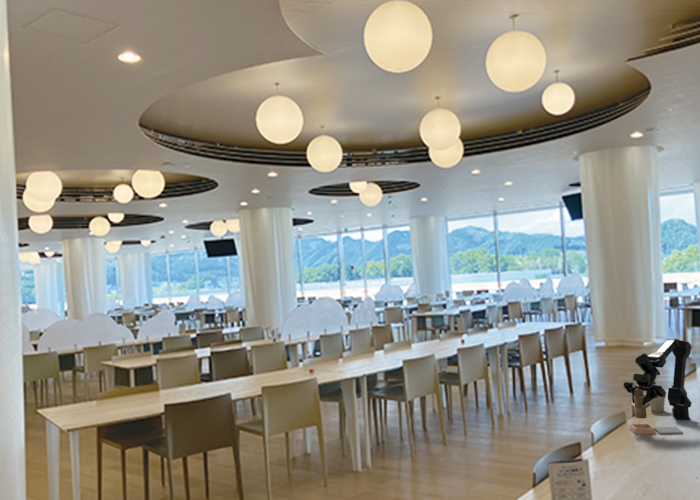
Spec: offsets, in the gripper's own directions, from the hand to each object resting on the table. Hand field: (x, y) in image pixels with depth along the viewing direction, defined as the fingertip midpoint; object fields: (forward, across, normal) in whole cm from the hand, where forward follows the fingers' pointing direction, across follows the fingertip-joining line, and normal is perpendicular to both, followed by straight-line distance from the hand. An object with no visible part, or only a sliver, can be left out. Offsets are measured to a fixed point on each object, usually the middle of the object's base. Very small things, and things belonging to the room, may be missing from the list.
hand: (638, 403), depth 284 cm
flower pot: (-22, -17, +41) cm, 49 cm away
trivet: (+3, +8, +15) cm, 18 cm away
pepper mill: (+4, 0, +6) cm, 7 cm away
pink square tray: (+8, 0, +10) cm, 13 cm away
